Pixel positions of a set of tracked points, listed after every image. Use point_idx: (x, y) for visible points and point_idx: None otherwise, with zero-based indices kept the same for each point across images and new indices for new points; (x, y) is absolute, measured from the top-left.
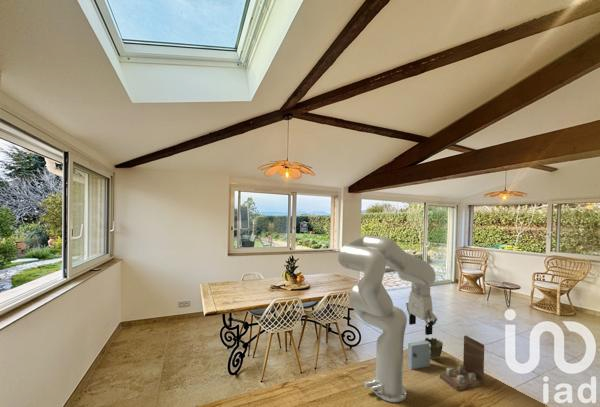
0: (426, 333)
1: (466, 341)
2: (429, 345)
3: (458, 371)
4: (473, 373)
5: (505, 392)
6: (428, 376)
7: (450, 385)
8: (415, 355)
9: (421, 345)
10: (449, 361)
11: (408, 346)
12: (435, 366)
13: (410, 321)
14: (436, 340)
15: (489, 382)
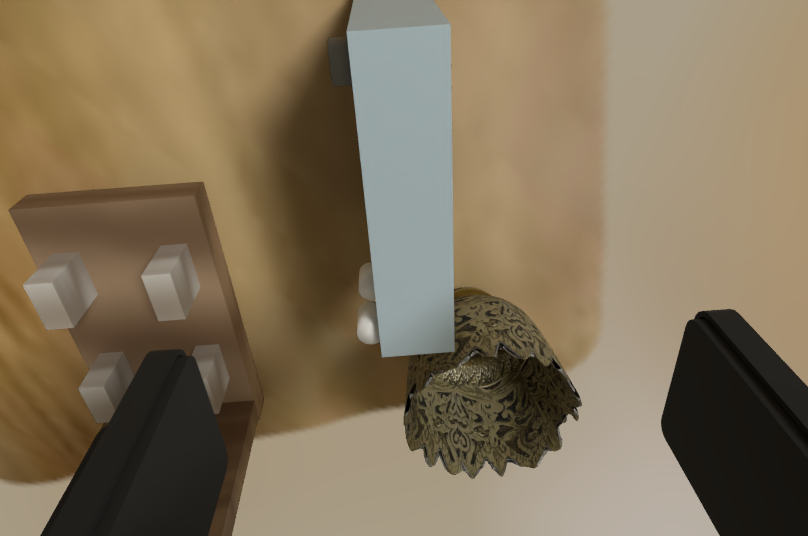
0: (138, 373)
1: None
2: (361, 319)
3: (209, 351)
4: (101, 414)
5: (56, 456)
6: (224, 90)
7: (88, 191)
8: (329, 56)
9: (368, 218)
10: (401, 387)
11: (431, 17)
12: (361, 254)
13: (736, 370)
14: (519, 454)
15: None
